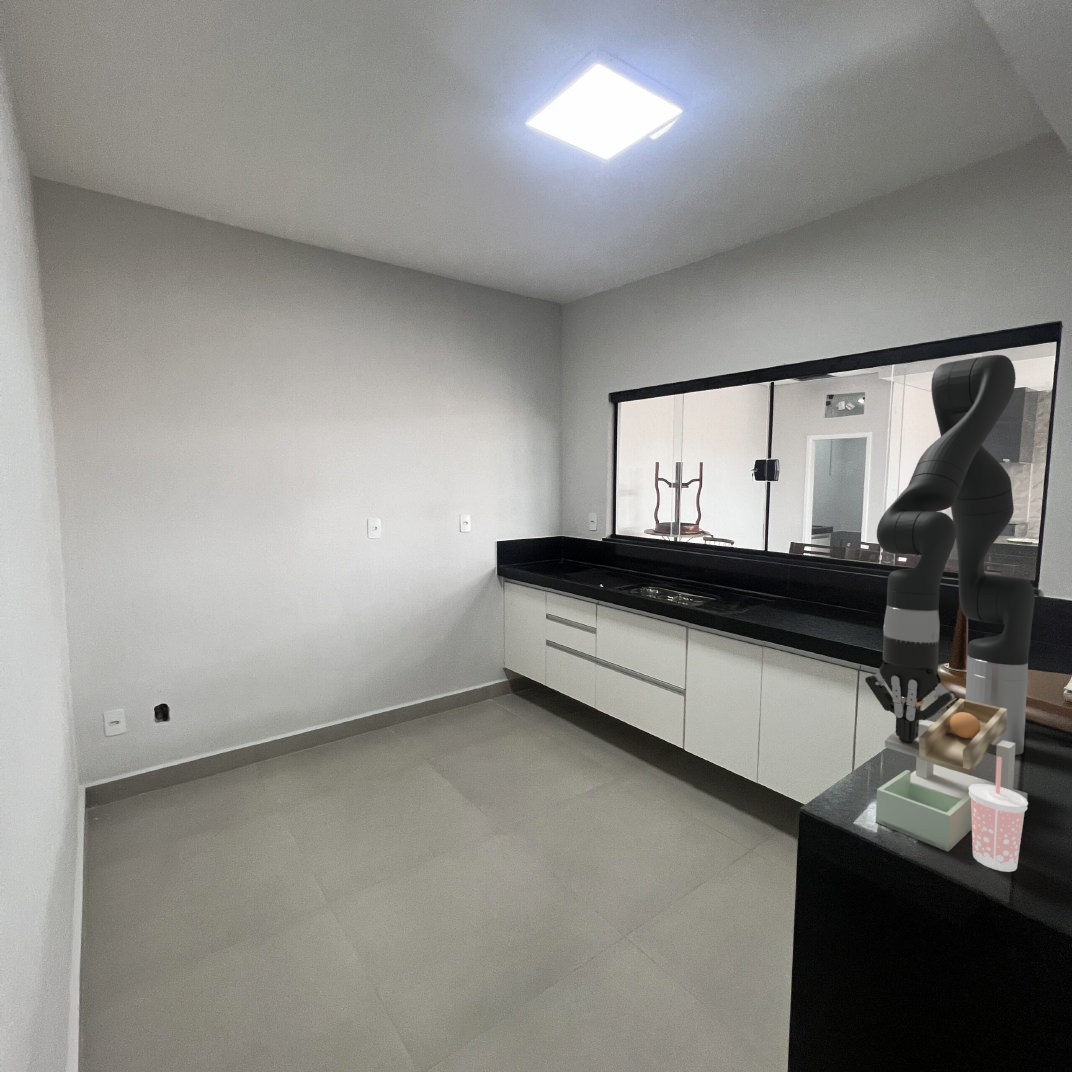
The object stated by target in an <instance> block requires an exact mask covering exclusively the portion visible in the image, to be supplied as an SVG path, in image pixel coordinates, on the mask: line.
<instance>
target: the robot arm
mask: <svg viewBox="0 0 1072 1072" xmlns="http://www.w3.org/2000/svg"><path fill="white" fill-rule="evenodd" d="M1016 380H1017V379H1016V370H1015V366H1014V364H1013V362H1012V360H1011V359H1010V358H1009V357H1008V356H1006V355H1003V354H991V355H983V356H978V357H972V358H967V359H961V360H956V361H955V360H954V361H948V362H945V363H942V364H940V365H938V366H937V367H936V368H935V370H934V371H933V374H932V379H931V388H930V391H931V398H932V404H933V409H934V413H935V418H936V421H937V426H938V430H939V434H940V437H939V438H938V439H936V440H935V441H934V442H933V443H932V444H931V445H929V447H927V448H926V450H925V451H924V452H923V454H922V455H921V456H920V458H919V460H918V462H917V464H916V466H915V468H914V471H913V473H912V476H911V477H910V480H909V483H908V485H907V486H906V488H905V489H904V490H903V491H902V492H901V493H900V495H899V496H898V497H897V498H895V500H894V501H893V503H892V504H891V505H890V506H889V507H888V508H887V509H886V511H885V512H884V514H883V515H882V517H881V518H880V519H879V521H878V524H877V528H876V539H877V543H878V545H879V546H880V548H881V550H883V551H885V552H886V553H889V554H892V555H893V554H895V555H907V556H909V555H910V556H919V557H920V559H919V560H918V562H917V564H916V565H915V566H914V567H912V568H905V569H904V568H903V569H897V570H893V571H891V572H890V573H889V574H888V578H887V590H886V592H887V593H886V608H885V614H884V619H883V620H884V622H883V627H882V628H883V644H882V645H883V647H882V664H881V666H880V667H879V670H878V671H879V672H877V673H874V674H871V675H868V676H866V677H865V680H864V681H865V683H866V684H867V685H868V687H869V689H870V690H871V691H872V692H871V693H873V694H874V696H875V697H876V699H877V701H878V702H879V703H880V705H881V707H882V708H883V709H884V711H887V712H890V713H892V714H894V716H895V731H896V735H897V736H899V740H901V741H904V742H908V743H911V742H913V741H914V740H915V739H917V737H918V732H919V723H920V721H923V720H928V719H931V718H932V717H933V716H935V715H936V714H938V712H940V711H941V710H942V709H944V707H946V706H947V705H948V704H950V703H951V702H953V701H954V700H955V699H956V698H957V693H955V692H954V691H951V690H948V689H947V688H946V687H945V686H944V685H943V684H941V682H942V680H941V677H940V675H939V672H938V671H939V669H938V667H939V649H940V647H939V646H940V631H941V630H940V627H941V626H940V625H941V623H940V615H939V612H940V611H939V610H940V609H939V608H940V607H939V605H940V586H941V581H942V578H943V574H944V571H945V568H946V565H947V562H948V560H949V557H950V555H951V552H952V550H953V548H954V545H955V542H956V550H957V567H958V568H957V571H958V572H957V573H958V574H957V575H958V595H959V597H958V598H959V603H960V604H959V605H960V609H961V611H962V613H963V615H964V616H965V617H966V618H967V619H969V620H972V621H976V622H983V623H989V624H995V625H996V624H997V625H1004V627H1003V631H1002V633H999V634H1000V635H998V636H994V637H990V638H984V637H982V638H976V639H975V638H974V639H972V640H970V641H969V642H968V644H967V655H966V656H967V658H966V678H965V679H966V681H965V698H964V699H965V700H969V701H974V702H978V703H983V704H987V705H992V706H996V707H1000V708H1005V709H1007V730H1006V731H1005V732H1004V733H1003V735H1002V736H1001V737H1000V738H999V739H998V741H997V742H996V743H995V744H994V745H996V746H997V744H998V743H1000V742H1001V741H1002V740H1005V741H1008V742H1012V743H1016V744H1015V756H1017V755H1018V756H1019V755H1021V754H1023V753H1024V746H1025V730H1026V712H1027V711H1026V710H1027V693H1028V692H1027V691H1028V689H1027V687H1028V673H1029V672H1028V671H1029V653H1030V647H1031V635H1032V626H1033V625H1032V624H1033V617H1034V609H1035V602H1036V601H1035V600H1036V597H1035V588H1034V586H1033V583H1031V581H1030V580H1028V579H1027V578H1024V577H1023V578H1021V577H1012V576H1003V575H1001V576H1000V575H989V574H986V573H985V569H984V566H985V565H984V564H985V559H986V556H987V553H989V550H991V547H992V546H993V544H994V543H995V542H996V541H997V539H998V538H999V536H1001V534H1002V533H1003V531H1004V530H1005V529H1006V527H1007V526H1008V524H1009V523H1010V521H1011V519H1012V518H1013V515H1014V498H1013V491H1012V489H1013V487H1012V481H1011V477H1010V475H1009V473H1008V472H1007V471H1006V469H1005V468H1004V466H1003V465H1002V464H1001V463H1000V462H999V461H998V460H997V459H996V458H995V457H994V456H993V455H992V453H990V451H988V450H987V449H986V448H985V447H984V446H983V444H984V442H985V440H986V439H987V437H988V436H989V434H990V433H992V432H991V431H992V430H993V429H994V427H995V426H996V424H997V422H998V421H999V419H1000V417H1001V416H1002V415H1003V413H1004V411H1005V410H1006V409H1007V406H1008V404H1009V403H1010V400H1011V398H1012V396H1013V394H1014V391H1015V386H1016ZM949 508H950V511H951V516H952V517H950V516H949V515H948V514H947V513H945V512H942V511H944V510H948V509H949ZM886 685H887V687H888V688H887V687H886ZM888 689H889V690H890V691H891V693H892V694H891V693H890V691H889V690H888ZM934 690H935V692H934ZM932 692H934V694H933V698H934V699H935V700H934V701H933V702H932V703H930V705H928V706H927V707H926V708H924V709H922V706H923V705H924V699H925V698H927V697H928V696H930V695H931V693H932Z"/></svg>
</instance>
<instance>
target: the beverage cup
mask: <svg viewBox="0 0 1072 1072" xmlns="http://www.w3.org/2000/svg"><path fill="white" fill-rule="evenodd" d="M1001 762H1002V758H1001V757H997V770H996V786H995V785H990V784H973V785H971V786H970V787H969V796H970V797H971V813H972V829H971V839H972V843H971V844H972V856H973V858H974V859H975V861H977V862H978V863H980V864H982V865H983V866H985V867H987V868H990V869H992V870H996V871H999V872H1008V873H1010V872H1014V871H1015V872H1016V870H1017V869H1018V863H1019V856H1020V855H1019V854H1020V847H1021V846H1020V845H1021V841H1022V840H1021V839H1022V833H1023V825H1024V817H1025V812H1026V811H1027V810H1028V805H1029V802H1028V799H1027V800H1026V798H1024V797H1023V796H1022V795H1020V794H1018V793H1016V792H1014V791H1012V790H1009V789H1006V788H1003V787H1000V783H1001Z"/></svg>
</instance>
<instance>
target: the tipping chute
mask: <svg viewBox="0 0 1072 1072" xmlns="http://www.w3.org/2000/svg"><path fill="white" fill-rule="evenodd" d="M965 699H966V698H959V699H957V701H956V702H955V703H953V705H952V706H950V707H949V708H948V709H946V711H945V712H944V713H943V714H942V715H941V716H940V717H939V718H937V720H936V721H934V722H935V723H934V724H933V725H932V726H931V727H930V728H929V729H927V730H926V731H925V732H924V733H923V734H922V735H921V736H920V737H919V738H917V739H915V740H914V741H913V742H911V743H908V742H904V741H901V740H899V736H897V735H896V730H895V731H894V732H893V733H891V734H890V735H889V736H888V737H887V738H886V739H885V740H884V748H887V749H889V750H894V751H896V752H900V753H903V754H906V755H909V756H912V757H915V758H916V757H918V758H919V759H921V760H924V761H927V762H931V763H934V764H935V765H938V766H942V767H945V768H948V769H951V770H954V771H958V772H961V773H964V774H967V775H970V774H971V773H972V772H973V771H974V770H975V768H976V767H977V766H978V765H979V763H980V762H981V761H982V760H983V759H984V758H985V757H986V755H987V754H992V755H995V756H996V749H997V746H996V745H994V744H995V743H996V742H997V741H998V739H999V738H1000V737H1001V736H1002V735H1003V733H1004V732H1005V731H1006V730H1007V709H1005V708H1000V707H996V706H992V705H987V704H983V703H978V702H974V701H969V700H965ZM959 712H966V713H969V714H972V715H973V716H975V717H976V718H977V719H978V721H979V723H980V726H981V729H980V732H979V733H978V734H977V735H976V736H975V737H973V738H963V737H960V736H958V735H957V734H956V733H955V732H954V731H953V730H952V728H951V726H950V720H951V718H952V716H953V715H954V714H956V713H959Z"/></svg>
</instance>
